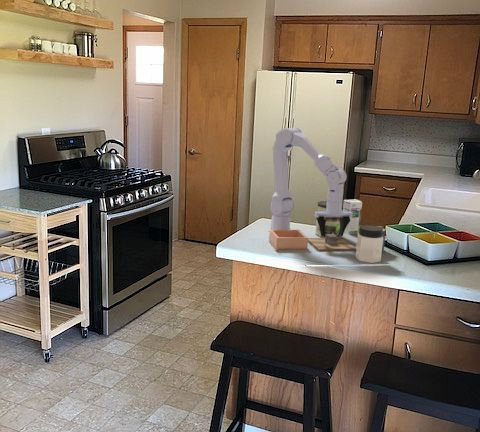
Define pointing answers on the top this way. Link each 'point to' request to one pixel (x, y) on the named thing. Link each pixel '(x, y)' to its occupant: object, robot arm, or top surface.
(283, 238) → the dish
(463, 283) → the top surface
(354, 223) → the syrup box
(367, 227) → the jar
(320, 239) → the lid
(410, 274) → the top surface
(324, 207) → the coffee can
